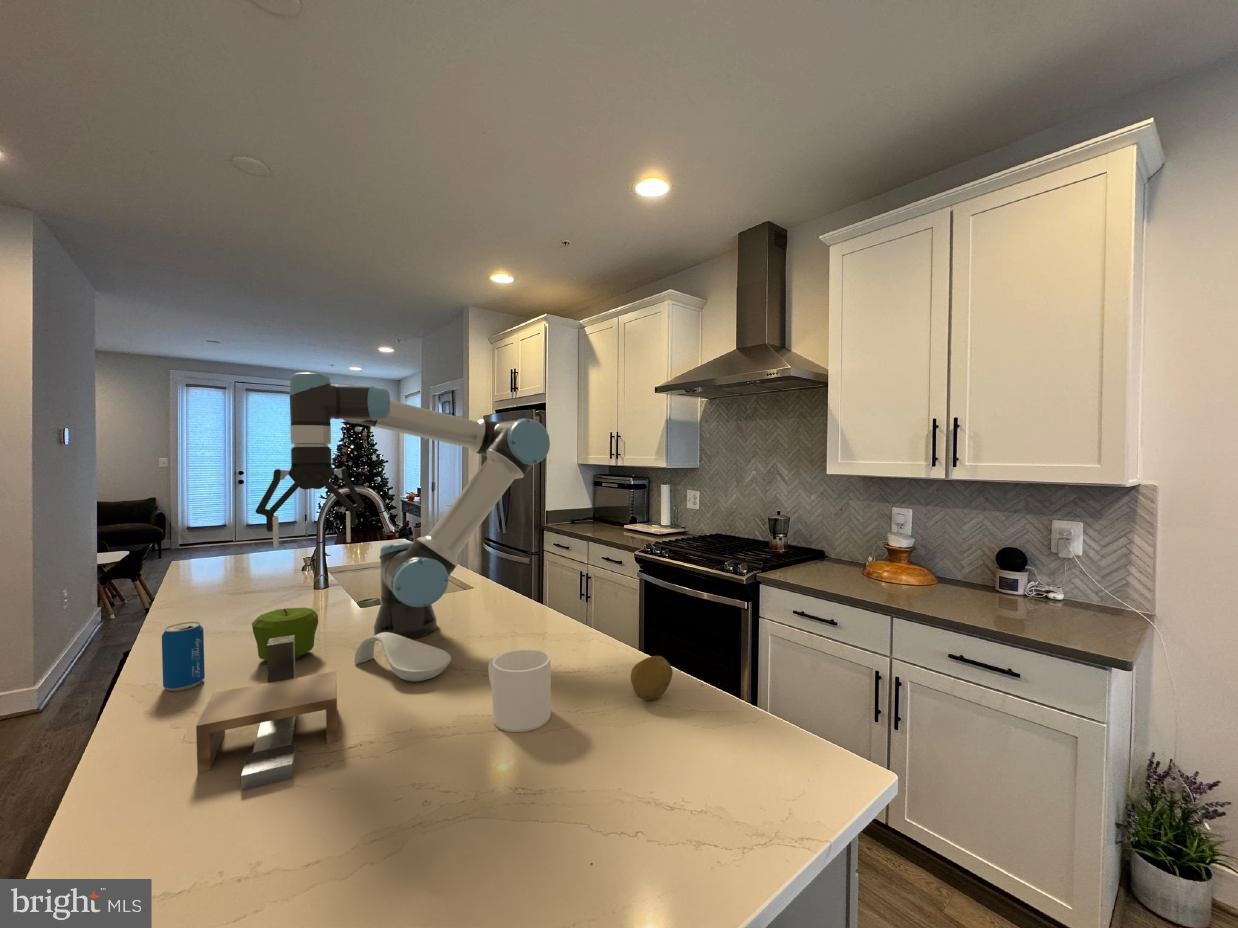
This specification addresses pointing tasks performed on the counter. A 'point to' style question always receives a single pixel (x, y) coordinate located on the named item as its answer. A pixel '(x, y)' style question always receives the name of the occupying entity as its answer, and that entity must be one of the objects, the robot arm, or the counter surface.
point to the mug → (521, 689)
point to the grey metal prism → (278, 670)
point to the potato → (651, 677)
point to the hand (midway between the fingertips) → (313, 544)
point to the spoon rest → (406, 656)
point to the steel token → (268, 767)
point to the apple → (286, 629)
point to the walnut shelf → (264, 709)
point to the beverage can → (183, 656)
